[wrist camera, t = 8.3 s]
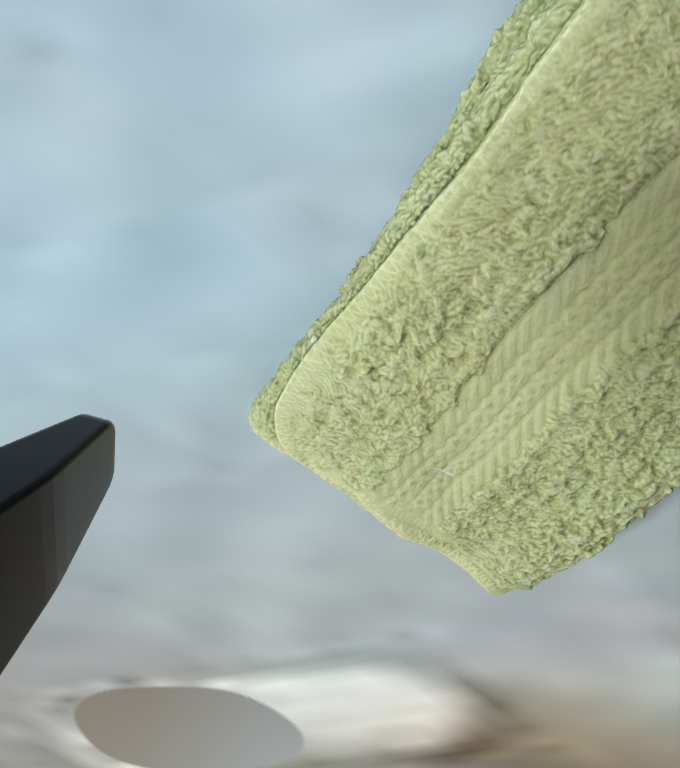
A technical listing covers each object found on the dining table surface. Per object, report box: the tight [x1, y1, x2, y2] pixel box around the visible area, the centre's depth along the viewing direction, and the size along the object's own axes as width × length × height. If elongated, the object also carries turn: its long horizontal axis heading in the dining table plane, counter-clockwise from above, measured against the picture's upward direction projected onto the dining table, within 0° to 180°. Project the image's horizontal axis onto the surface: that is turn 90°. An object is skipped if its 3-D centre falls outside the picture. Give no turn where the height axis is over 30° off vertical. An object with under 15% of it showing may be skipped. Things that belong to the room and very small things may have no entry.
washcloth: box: [248, 0, 680, 595], centre depth 18 cm, size 13×18×3 cm
